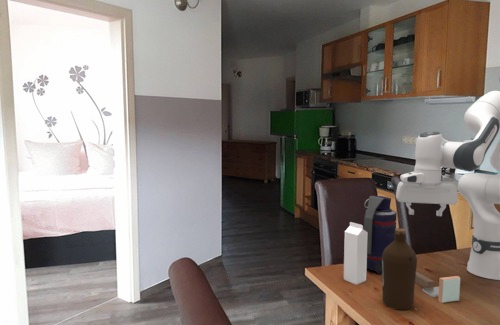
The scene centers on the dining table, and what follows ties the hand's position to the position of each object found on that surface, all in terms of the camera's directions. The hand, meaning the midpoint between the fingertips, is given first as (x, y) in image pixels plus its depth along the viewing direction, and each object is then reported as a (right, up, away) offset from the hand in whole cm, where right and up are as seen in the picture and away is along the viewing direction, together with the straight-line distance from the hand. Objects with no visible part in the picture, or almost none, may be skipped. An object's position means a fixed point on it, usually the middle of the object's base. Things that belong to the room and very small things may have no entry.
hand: (425, 215), depth 136 cm
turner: (+1, -26, 0) cm, 26 cm away
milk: (-23, -26, +7) cm, 36 cm away
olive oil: (-14, -28, -11) cm, 33 cm away
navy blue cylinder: (-12, -25, +17) cm, 32 cm away
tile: (+3, -27, -10) cm, 29 cm away
